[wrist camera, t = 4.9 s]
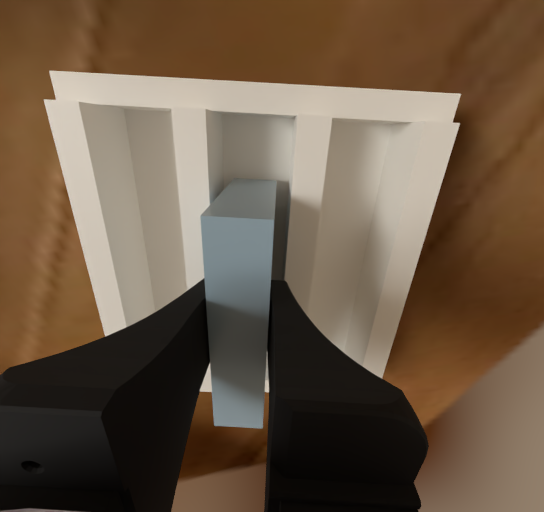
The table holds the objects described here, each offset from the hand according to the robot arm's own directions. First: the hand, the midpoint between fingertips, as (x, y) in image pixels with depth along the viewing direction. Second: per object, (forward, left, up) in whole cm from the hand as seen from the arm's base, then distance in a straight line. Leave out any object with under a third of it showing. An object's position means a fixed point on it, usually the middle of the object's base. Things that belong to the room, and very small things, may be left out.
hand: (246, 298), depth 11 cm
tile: (0, 0, -4) cm, 4 cm away
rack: (0, 0, -5) cm, 5 cm away
